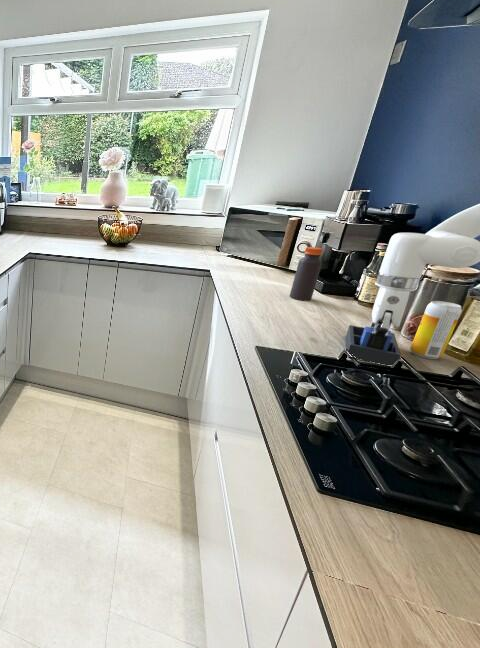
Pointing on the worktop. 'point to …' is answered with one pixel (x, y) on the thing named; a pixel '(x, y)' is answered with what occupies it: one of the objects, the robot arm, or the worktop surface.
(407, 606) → the worktop surface
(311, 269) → the bottle
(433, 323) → the beer can
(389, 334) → the blue block
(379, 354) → the sorting tray
